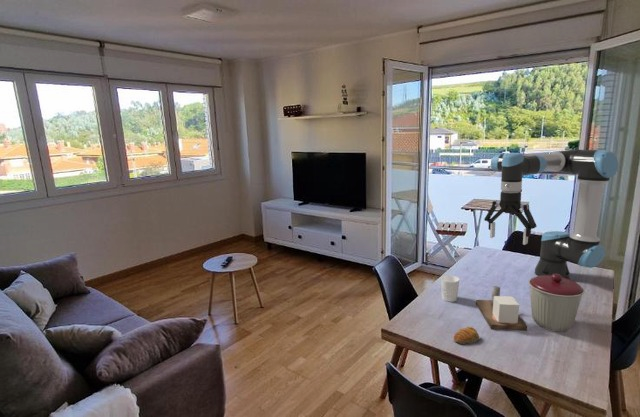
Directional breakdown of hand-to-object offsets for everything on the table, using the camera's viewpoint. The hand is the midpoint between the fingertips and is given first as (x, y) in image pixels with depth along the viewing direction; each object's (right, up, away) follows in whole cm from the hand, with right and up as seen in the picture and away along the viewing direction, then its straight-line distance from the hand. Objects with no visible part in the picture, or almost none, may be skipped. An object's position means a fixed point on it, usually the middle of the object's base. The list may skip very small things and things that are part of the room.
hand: (508, 240), depth 152 cm
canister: (+11, -32, -11) cm, 36 cm away
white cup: (-20, -28, +13) cm, 37 cm away
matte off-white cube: (-6, -30, -9) cm, 32 cm away
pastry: (-25, -36, -18) cm, 47 cm away
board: (-6, -31, -4) cm, 32 cm away
